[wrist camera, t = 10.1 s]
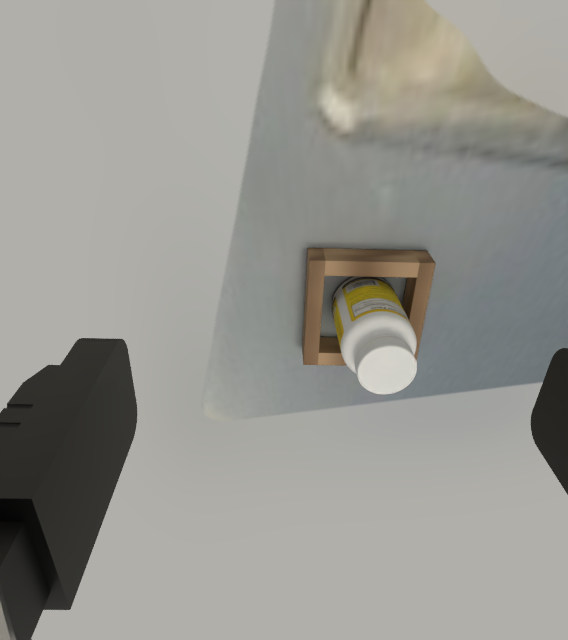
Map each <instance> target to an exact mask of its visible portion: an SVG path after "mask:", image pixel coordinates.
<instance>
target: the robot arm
mask: <svg viewBox="0 0 568 640" xmlns="http://www.w3.org/2000/svg"><path fill="white" fill-rule="evenodd" d="M136 423H137V404H136V397H135V391H134V386H133V379H132V373H131V367H130V361H129V355H128V349H127V345H126V343H125V341H124V340H123V339H95V338H81V339H79V340H77V342H76V343H75V344H74V346H73V347H72V349H71V350H70V352H69V353H68V355H67V356H66V358H65V359H64V361H63V362H62V363H61V365H48V366H46V367H45V368H43V369H42V370H41V371H39V372H38V373H36V374H35V375H34V376H32V377H31V378H29V379H28V380H26V381H25V382H23V384H22V385H21V386H20V388H19V389H18V390H17V392H16V393H15V394H14V396H13V397H12V398H11V400H10V401H9V402H8V403H7V408H4V409H3V410H2V411H1V413H0V640H31V637H32V635H33V632H34V630H35V628H36V625H37V623H38V620H39V618H40V616H41V613H42V611H43V610H70V609H71V606H72V603H73V601H74V598H75V595H76V593H77V590H78V587H79V584H80V582H81V579H82V576H83V573H84V570H85V568H86V565H87V563H88V560H89V557H90V555H91V552H92V549H93V546H94V544H95V541H96V538H97V536H98V533H99V530H100V528H101V525H102V522H103V519H104V517H105V514H106V511H107V509H108V506H109V503H110V500H111V498H112V495H113V492H114V489H115V487H116V484H117V481H118V479H119V476H120V473H121V471H122V468H123V465H124V462H125V460H126V457H127V454H128V452H129V449H130V446H131V444H132V441H133V438H134V434H135V429H136ZM531 430H532V435H533V439H534V441H535V444H536V445H537V447H538V449H539V450H540V452H541V453H542V455H543V456H544V458H545V460H546V461H547V463H548V464H549V466H550V467H551V469H552V471H553V472H554V474H555V475H556V477H557V478H558V480H559V482H560V483H561V485H562V486H563V488H564V489H565V491H566V493H567V494H568V348H562V349H560V350H558V351H557V352H556V353H555V354H554V356H553V358H552V360H551V362H550V365H549V368H548V370H547V373H546V376H545V379H544V381H543V384H542V387H541V389H540V392H539V395H538V398H537V401H536V403H535V406H534V408H533V411H532V415H531Z"/></svg>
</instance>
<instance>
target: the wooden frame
mask: <svg viewBox="0 0 568 640" xmlns="http://www.w3.org/2000/svg"><path fill="white" fill-rule="evenodd" d="M435 264H436V263H435V261H434V260H433V259H432V257H431V256H430V254H429V253H428V252H427V251H421V250H377V249H333V248H308V253H307V271H306V289H305V307H304V326H303V344H302V351H303V365H346V363H345V361H344V359H343V357H342V354H341V350H340V345H339V341H338V337H320V329H321V316H322V303H323V290H324V276H367V277H407V281H406V287H405V292H404V298H403V304H402V307H403V309H404V311H405V313H406V315H407V317H408V319H409V321H410V323H411V325H412V328H413V330H414V332H415V335H416V341H417V346H416V351H415V354H414V357H415V359H417V354H418V349H419V344H420V339H421V334H422V329H423V324H424V319H425V314H426V309H427V304H428V299H429V294H430V289H431V284H432V279H433V274H434V269H435Z"/></svg>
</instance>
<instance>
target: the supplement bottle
mask: <svg viewBox="0 0 568 640" xmlns="http://www.w3.org/2000/svg"><path fill="white" fill-rule="evenodd" d="M332 313H333V318H334V322H335V327H336V331H337V336H338V341H339V345H340V350H341V354H342V357H343V359H344V361H345V363H346V365H347V366H348V367H349V368H350V369H351V370H352V371H353V372H355V373H356V374H357V377H358V380H359V382H360V383H361V385H362V386H363V387H364V388H365V389H367V390H368V391H370V392H373V393H376V394H391V393H395V392H398V391H400V390H402V389H404V388H405V387H407V386H408V385H409V384H410V383H411V382H412V380H413V379H414V377H415V375H416V372H417V362H416V359H415V357H414V354H415V351H416V346H417V341H416V335H415V332H414V330H413V328H412V325H411V323H410V321H409V319H408V317H407V315H406V313H405V311H404V309H403V307H402V305H401V303H400V301H399V299H398V297H397V295H396V293H395V291H394V290H393V288H392V287H391V285H390V284H389V283H388V282H387V281H385V280H384V279H382V278H380V277H367V276H355V277H352V278H350V279H348V280H347V281H345V282H344V283H343V284H342V285H341V286H340V287H339V288H338V289H337V291H336V292H335V294H334V297H333V300H332Z"/></svg>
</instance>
